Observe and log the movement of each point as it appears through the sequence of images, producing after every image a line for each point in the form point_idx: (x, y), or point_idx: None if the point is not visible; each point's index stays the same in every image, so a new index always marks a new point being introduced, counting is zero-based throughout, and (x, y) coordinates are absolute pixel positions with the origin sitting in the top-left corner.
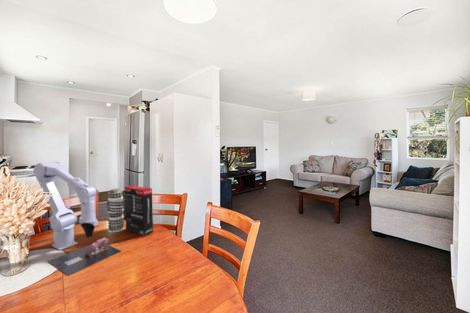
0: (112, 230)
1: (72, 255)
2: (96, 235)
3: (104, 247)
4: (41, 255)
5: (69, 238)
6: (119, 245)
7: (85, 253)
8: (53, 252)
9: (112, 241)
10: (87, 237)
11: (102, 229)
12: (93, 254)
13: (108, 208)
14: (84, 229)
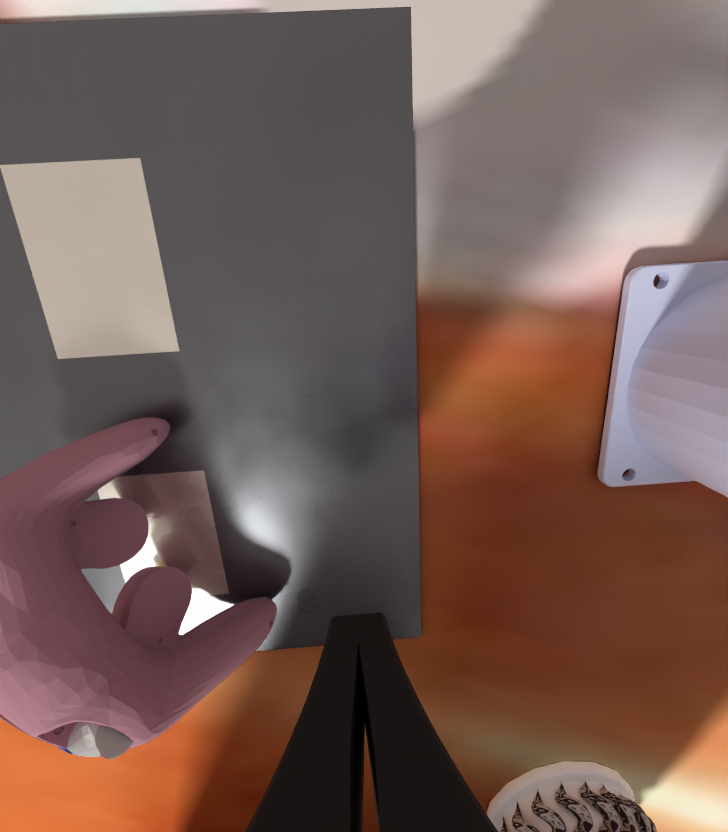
0: (544, 799)
1: (290, 315)
2: (618, 668)
3: (202, 611)
4: (715, 35)
5: (723, 434)
6: None
7: (126, 423)
8: (643, 193)
9: (302, 702)
10: (340, 619)
11: (707, 747)
12: None
13: None
14: (389, 824)
